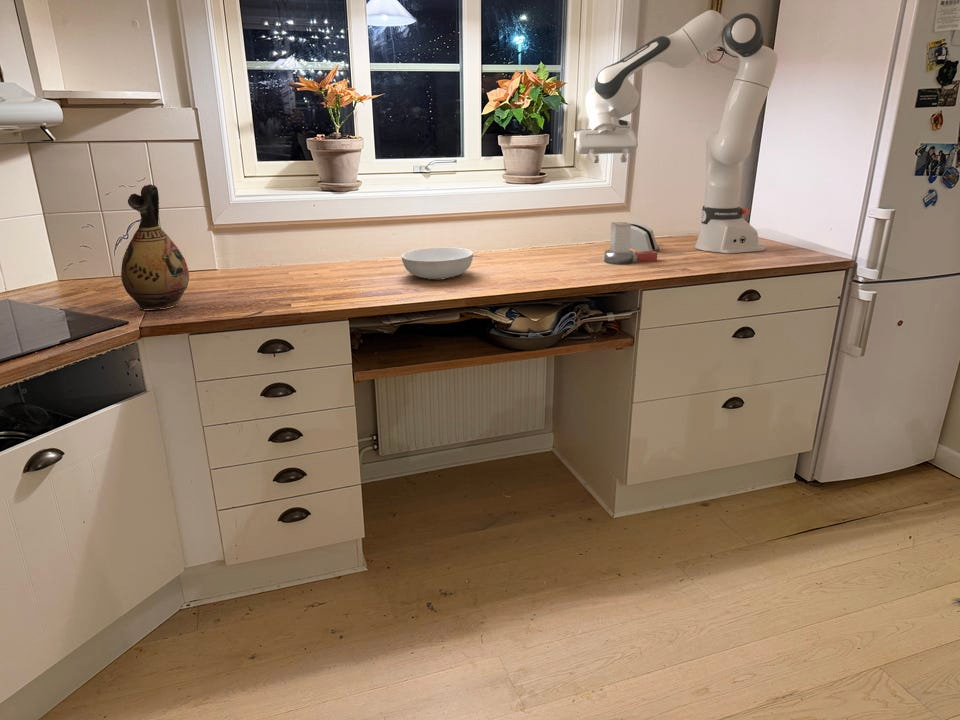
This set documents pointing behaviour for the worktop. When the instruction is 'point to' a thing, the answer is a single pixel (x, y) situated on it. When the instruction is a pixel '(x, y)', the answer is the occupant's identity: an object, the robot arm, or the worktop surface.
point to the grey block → (620, 237)
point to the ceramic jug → (152, 258)
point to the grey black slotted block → (642, 238)
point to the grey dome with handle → (629, 257)
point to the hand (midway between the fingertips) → (610, 161)
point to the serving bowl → (437, 262)
